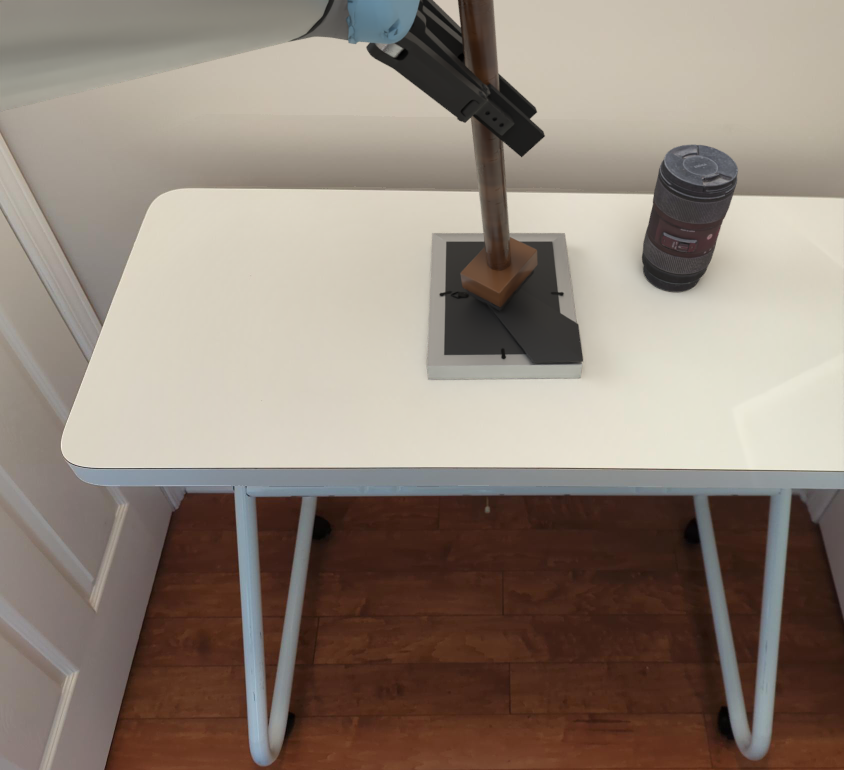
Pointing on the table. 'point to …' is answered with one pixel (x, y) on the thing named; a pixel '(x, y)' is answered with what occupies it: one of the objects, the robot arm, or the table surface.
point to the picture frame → (502, 316)
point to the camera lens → (687, 215)
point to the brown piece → (491, 175)
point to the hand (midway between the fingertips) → (528, 131)
